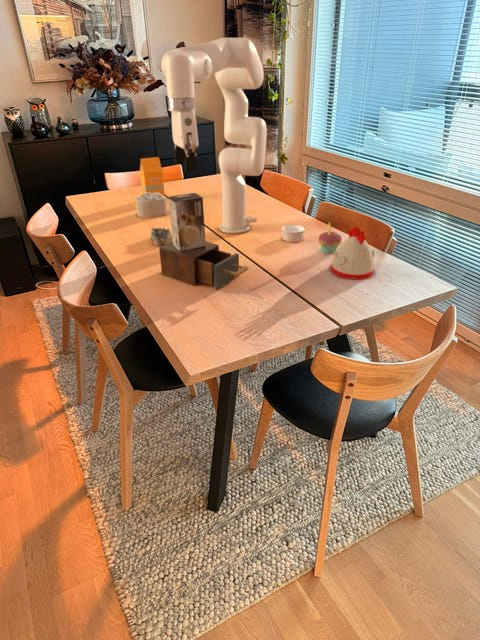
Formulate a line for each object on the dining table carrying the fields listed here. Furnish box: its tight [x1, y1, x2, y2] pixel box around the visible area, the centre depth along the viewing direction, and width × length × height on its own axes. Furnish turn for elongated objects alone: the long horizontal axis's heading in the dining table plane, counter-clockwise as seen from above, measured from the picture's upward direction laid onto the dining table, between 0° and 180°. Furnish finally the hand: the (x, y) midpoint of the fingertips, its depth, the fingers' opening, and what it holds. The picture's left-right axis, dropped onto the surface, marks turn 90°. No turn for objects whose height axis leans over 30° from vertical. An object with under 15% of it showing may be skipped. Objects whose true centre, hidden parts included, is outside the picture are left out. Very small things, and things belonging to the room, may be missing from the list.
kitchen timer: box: [330, 226, 375, 280], centre depth 151 cm, size 14×14×15 cm
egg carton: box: [150, 227, 172, 247], centre depth 177 cm, size 11×8×4 cm
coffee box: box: [168, 192, 207, 251], centre depth 144 cm, size 9×6×16 cm
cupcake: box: [318, 221, 343, 255], centre depth 165 cm, size 9×8×12 cm
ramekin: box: [281, 224, 305, 243], centre depth 178 cm, size 9×9×4 cm
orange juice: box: [139, 156, 166, 197], centre depth 216 cm, size 8×9×20 cm
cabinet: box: [158, 240, 220, 286], centre depth 151 cm, size 15×13×10 cm
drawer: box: [195, 249, 249, 290], centre depth 145 cm, size 19×11×8 cm, turn 54°
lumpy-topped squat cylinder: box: [135, 192, 169, 218], centre depth 203 cm, size 10×13×9 cm
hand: (186, 166), depth 137 cm, fingers open, 9 cm apart
